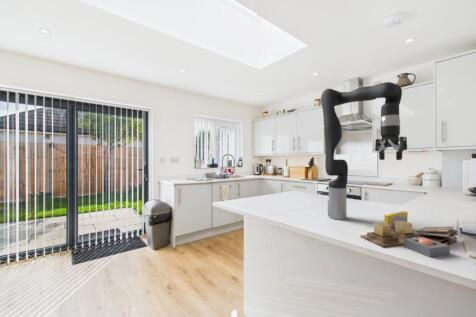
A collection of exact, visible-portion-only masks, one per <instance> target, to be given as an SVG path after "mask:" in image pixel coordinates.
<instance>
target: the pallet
mask: <svg viewBox="0 0 476 317" xmlns="http://www.w3.org/2000/svg"><path fill="white" fill-rule="evenodd" d="M418 236H420V237H421V235H420V234H417V233H414V232H412V235H407V236H404V235H402V234H399V233H396V232H395V230H391V237H388V238H381V237H379V236H376V235H374V231H372V232H371V231H370V232H366V234H362V235H360V238H362V240H366V241H368V242H370V243H372V244H374V245H377V246H379V247H381V248H392V247H400V246H404V239H406V238H413V237H418Z"/></svg>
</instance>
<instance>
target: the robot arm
mask: <svg viewBox="0 0 476 317" xmlns="http://www.w3.org/2000/svg"><path fill="white" fill-rule="evenodd" d="M320 95H321V96H320V101H321V102H320V103H321V107H322V114H323V125H324V126H323V127H324V130H323V132H324V144H325V162H324V163H325V164H324V165H325V166H324V167H325V172H326V174H327V176H331V177H332V176H334V177H335V176H337V177H336V178H335V179H333V180H331V181H329V183H328V199H327V217H329V218H330V219H333V220H338V221H339V220H341V221H342V220H347V213H348V212H347V184H348V175H349V174H348V172H349V166H348V163H347V161H346V160H345V159H335V151H336V150H337V147H338V145H339V143H340V141H341V140H342V137H343V131H342V129H343V128H342V125H341V121H340V119H339V117H338V115H337V113H336V109H335V107H338V106H341V105H344V104H345V105H346V104H349V103H355V102H356V103H357V102H365V101H367V102H368V101H374V100H376V99H385V101H384V104H382V106H381V107H380V108H381V109H380V121H379V122H380V124H379V125H380V129H379V130H380V131H379V132H380V133H379V134H380V136H381V139H380V138H379V139H375V146H374V150H375V152H378V158H379V160H380V161H385V155H386V154H385V151H386V149H388V148H393V149H394V150H395V151H396V153H395V158H396V159H395V160H396V161H402V159H403V152H404V151H407V150H408V140H407V138H408V137H407V136H400V135H401V117H400V104H401V100H402V97H403V89H402V87H401V86H400V85H399V84H397V83H394V82H390V81H387V82H381V83H378V84H375V85H369V86H362V87H359V88H355V89H354V90H352V91H338V90H336V89H333V88H326V89H324V90H323V91H322V93H321V94H320Z"/></svg>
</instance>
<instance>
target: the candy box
mask: <svg viewBox="0 0 476 317" xmlns="http://www.w3.org/2000/svg"><path fill="white" fill-rule="evenodd" d="M408 214H409V213H408V211H404V210H402V211H398V212H392V213H388V214H387V213H385V214H384V217H383V223H385V224H388V225H391V230H395V221H405V222H408V217H409V216H408Z"/></svg>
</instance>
